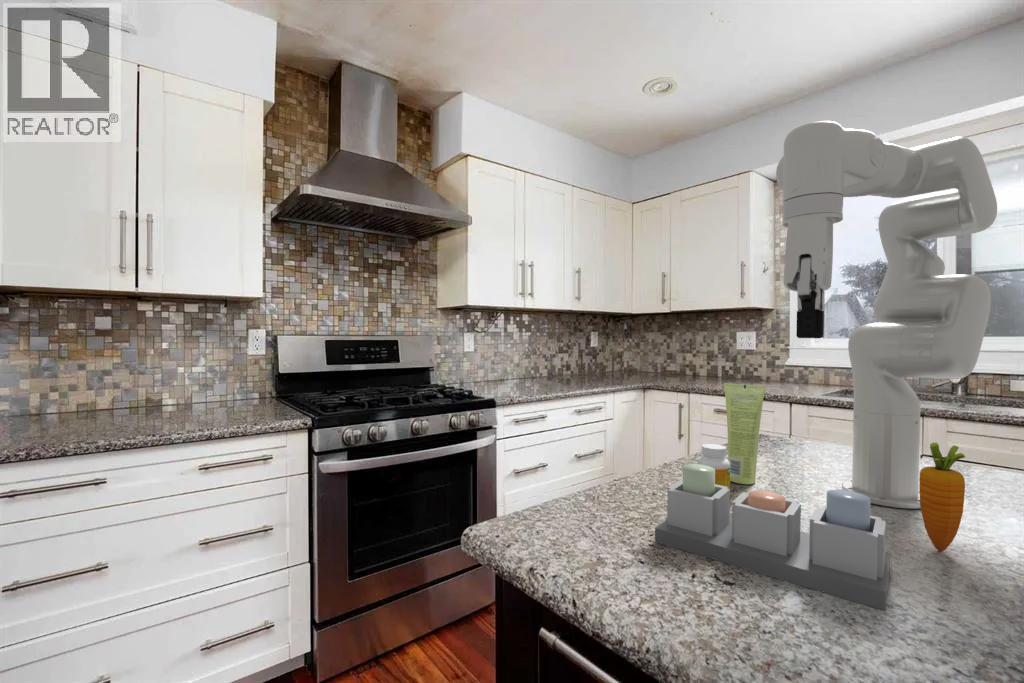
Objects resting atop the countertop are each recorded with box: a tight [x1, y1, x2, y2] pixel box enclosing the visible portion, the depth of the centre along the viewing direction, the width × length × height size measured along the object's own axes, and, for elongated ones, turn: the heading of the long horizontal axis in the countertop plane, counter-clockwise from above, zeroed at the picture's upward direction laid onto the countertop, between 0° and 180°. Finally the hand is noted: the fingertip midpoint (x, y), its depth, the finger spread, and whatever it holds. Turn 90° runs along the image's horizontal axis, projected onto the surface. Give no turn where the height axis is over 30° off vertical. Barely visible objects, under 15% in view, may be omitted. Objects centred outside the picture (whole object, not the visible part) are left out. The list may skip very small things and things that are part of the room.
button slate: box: [826, 489, 872, 532], centre depth 59 cm, size 4×4×5 cm
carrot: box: [919, 442, 966, 553], centre depth 66 cm, size 5×5×15 cm
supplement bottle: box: [696, 443, 731, 490], centre depth 85 cm, size 5×5×10 cm
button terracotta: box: [748, 490, 786, 513], centre depth 65 cm, size 4×4×5 cm
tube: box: [723, 382, 767, 485], centre depth 96 cm, size 6×5×20 cm
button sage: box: [682, 463, 715, 497], centre depth 71 cm, size 4×4×5 cm
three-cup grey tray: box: [654, 479, 892, 611], centre depth 65 cm, size 12×26×7 cm, turn 50°
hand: (809, 337), depth 71 cm, fingers closed
